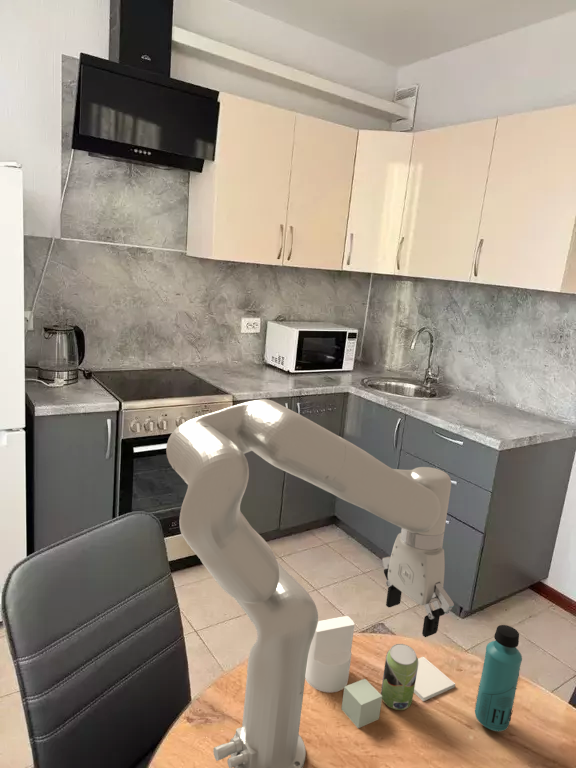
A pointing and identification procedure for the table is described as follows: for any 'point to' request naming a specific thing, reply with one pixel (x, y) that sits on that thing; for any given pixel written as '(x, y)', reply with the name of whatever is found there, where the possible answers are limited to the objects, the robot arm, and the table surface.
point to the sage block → (361, 703)
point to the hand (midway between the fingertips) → (410, 619)
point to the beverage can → (399, 677)
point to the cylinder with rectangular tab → (330, 654)
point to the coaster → (430, 680)
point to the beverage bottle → (499, 680)
